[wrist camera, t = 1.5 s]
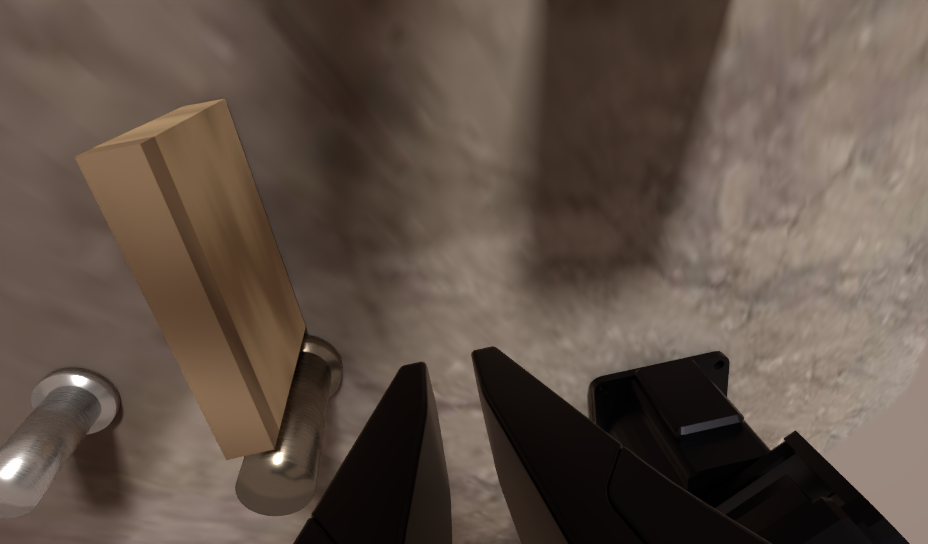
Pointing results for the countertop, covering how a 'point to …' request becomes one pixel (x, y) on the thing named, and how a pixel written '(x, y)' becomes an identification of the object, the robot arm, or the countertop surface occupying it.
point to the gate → (205, 265)
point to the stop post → (52, 434)
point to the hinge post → (294, 437)
